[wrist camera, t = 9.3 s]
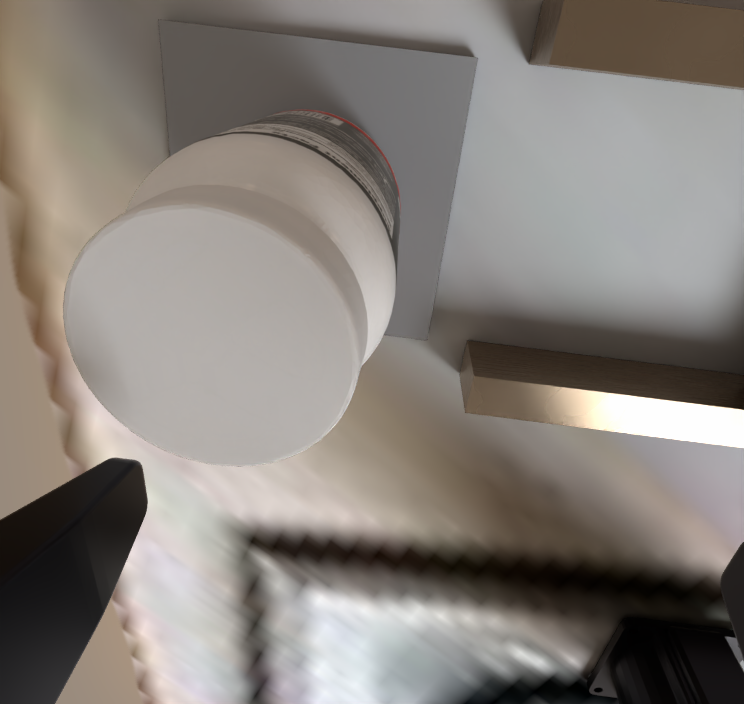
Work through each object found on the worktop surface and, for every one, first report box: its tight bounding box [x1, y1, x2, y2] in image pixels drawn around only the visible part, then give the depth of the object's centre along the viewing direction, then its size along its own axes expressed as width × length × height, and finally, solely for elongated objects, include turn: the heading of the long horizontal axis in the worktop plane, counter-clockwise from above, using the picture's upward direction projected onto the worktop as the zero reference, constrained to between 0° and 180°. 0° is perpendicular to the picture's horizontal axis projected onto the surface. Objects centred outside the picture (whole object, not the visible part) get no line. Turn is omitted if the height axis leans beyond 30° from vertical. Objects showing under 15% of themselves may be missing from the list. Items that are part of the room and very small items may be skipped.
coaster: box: [158, 19, 478, 340], centre depth 17 cm, size 9×9×1 cm
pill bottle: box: [63, 109, 401, 467], centre depth 12 cm, size 6×6×10 cm
